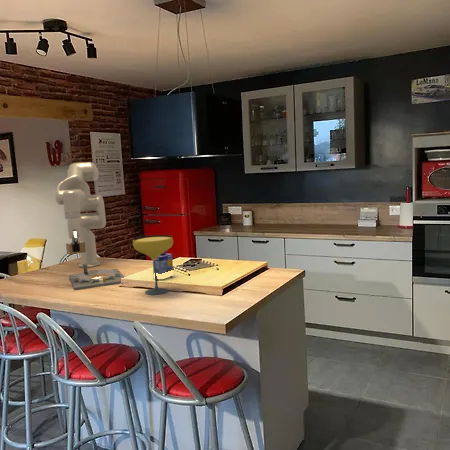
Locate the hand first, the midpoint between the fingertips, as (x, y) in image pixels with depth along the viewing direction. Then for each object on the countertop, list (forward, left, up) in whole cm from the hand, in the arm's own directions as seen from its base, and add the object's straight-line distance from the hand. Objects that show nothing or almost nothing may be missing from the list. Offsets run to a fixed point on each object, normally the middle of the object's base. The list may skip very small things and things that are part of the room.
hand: (76, 250), depth 238 cm
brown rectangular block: (0, 0, -1) cm, 1 cm away
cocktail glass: (+38, +30, -18) cm, 52 cm away
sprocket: (-4, +10, -16) cm, 19 cm away
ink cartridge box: (+14, +40, -18) cm, 46 cm away
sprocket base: (-4, +9, -17) cm, 20 cm away
